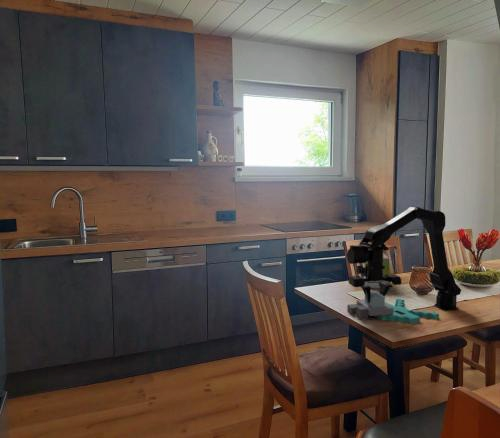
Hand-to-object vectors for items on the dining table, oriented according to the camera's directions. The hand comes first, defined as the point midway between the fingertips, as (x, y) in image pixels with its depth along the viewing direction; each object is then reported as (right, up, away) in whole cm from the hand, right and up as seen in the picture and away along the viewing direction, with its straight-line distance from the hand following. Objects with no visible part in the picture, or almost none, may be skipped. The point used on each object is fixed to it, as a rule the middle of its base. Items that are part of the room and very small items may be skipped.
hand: (374, 302), depth 149 cm
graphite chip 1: (-7, -5, +3) cm, 9 cm away
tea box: (+14, 0, +43) cm, 46 cm away
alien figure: (+10, -5, +2) cm, 11 cm away
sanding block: (0, -3, 0) cm, 3 cm away
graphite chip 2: (-4, -3, -3) cm, 6 cm away
